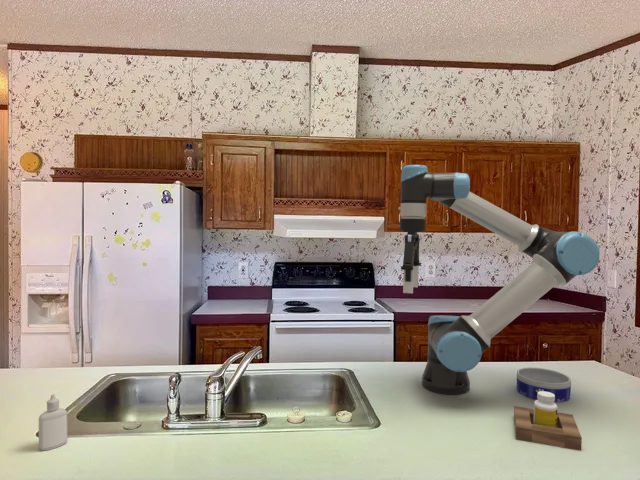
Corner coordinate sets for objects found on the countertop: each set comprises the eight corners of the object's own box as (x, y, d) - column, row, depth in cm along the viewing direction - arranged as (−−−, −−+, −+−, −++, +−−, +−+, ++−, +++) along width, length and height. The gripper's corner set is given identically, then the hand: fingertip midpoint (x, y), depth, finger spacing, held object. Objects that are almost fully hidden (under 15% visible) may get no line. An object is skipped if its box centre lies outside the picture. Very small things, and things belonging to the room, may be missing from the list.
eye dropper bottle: (65, 448, 103) (64, 396, 103) (36, 452, 101) (36, 399, 101) (68, 439, 107) (68, 390, 107) (41, 443, 105) (41, 392, 105)
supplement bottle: (559, 437, 111) (560, 398, 111) (536, 435, 112) (537, 396, 112) (553, 428, 116) (554, 390, 116) (530, 426, 117) (531, 389, 117)
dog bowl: (569, 390, 144) (570, 371, 144) (571, 407, 131) (572, 386, 131) (518, 382, 151) (518, 364, 151) (514, 397, 138) (515, 377, 138)
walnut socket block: (514, 416, 123) (514, 406, 123) (572, 425, 118) (572, 414, 118) (516, 439, 110) (516, 427, 110) (581, 450, 105) (581, 437, 105)
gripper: (405, 218, 145) (403, 284, 146) (393, 216, 122) (391, 294, 122) (429, 219, 143) (427, 285, 144) (421, 217, 119) (419, 296, 120)
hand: (410, 290), depth 133 cm, fingers open, 13 cm apart
